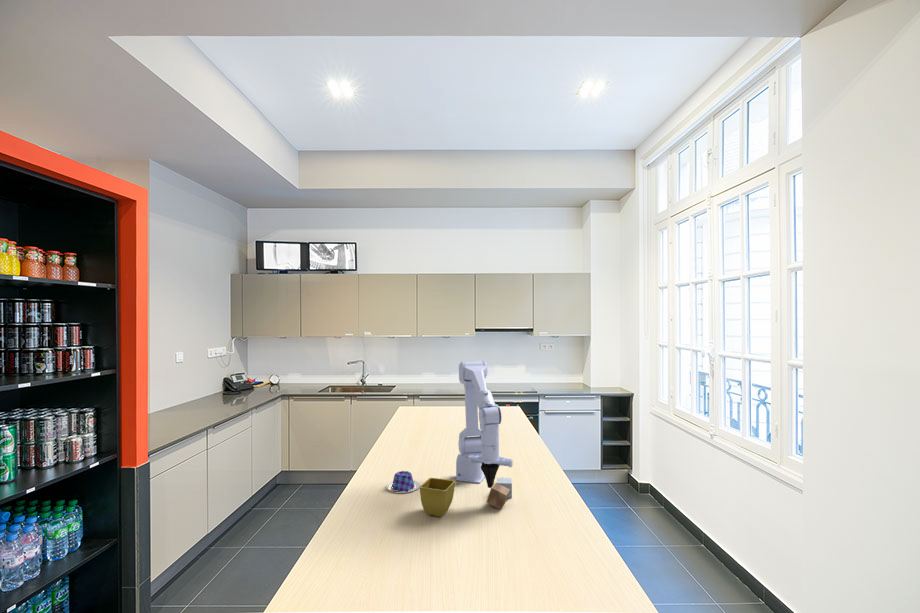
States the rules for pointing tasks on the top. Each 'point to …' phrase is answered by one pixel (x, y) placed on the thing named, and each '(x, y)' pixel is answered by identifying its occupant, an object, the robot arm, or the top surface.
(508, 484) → the slate-grey cube
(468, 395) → the robot arm
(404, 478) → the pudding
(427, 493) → the flower pot
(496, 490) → the walnut cube
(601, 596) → the top surface
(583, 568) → the top surface
